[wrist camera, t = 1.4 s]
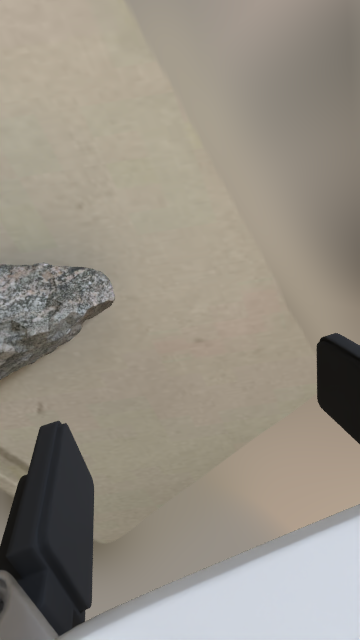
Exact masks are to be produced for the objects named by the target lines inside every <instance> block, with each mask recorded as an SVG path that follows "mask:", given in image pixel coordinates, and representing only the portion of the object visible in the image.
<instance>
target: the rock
mask: <svg viewBox="0 0 360 640" xmlns="http://www.w3.org/2000/svg"><path fill="white" fill-rule="evenodd" d="M114 300H115V295H114V292H113V287H112V284H111V282H110V280H109V279H108V278H107V277H106V275H104V274H103V273H101V272H100V271H96V270H94V269H89V268H84V267H67V266H65V267H59V266H52V265H49V264H45V263H38V264H34V265H22V266H13V265H3V264H0V380H1V379H2V378H4V377H6V376H7V375H9V374H10V373H12V372H15V371H17V370H18V369H19V368H21V367H23V366H25V365H27V364H32V363H34V362H35V361H36V360H37V359H38V358H40V357H42V356H43V355H46V354H49V353H51V352H52V351H54V350H55V349H56V348H57V347H58V346H60V345H62V344H64V343H66V342H68V341H69V340H71V339H72V338H73V337H74V336H75V335H77V334H78V333H79V332H80V330H81V328H82V324H83V322H84V321H85V320H87V319H90V318H93V317H94V316H96V315H98V314H99V313H101V312H102V311H103V310H105V309H107V308H108V307H110V306H111V305H112V303H113V301H114Z"/></svg>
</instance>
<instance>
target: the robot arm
mask: <svg viewBox="0 0 360 640" xmlns="http://www.w3.org/2000/svg"><path fill="white" fill-rule="evenodd" d="M317 399H318V403H319V405H320V407H321V408H322V409H323V410H324V411H325V412H326V413H327V414H328V415H329V416H331V418H333V419H334V420H335V421H336V422H337V423H338V424H339V425H340V426H341V427H342V428H343V429H344V430H345V431H346V432H347V433H348V434H350V435H351V436H352V437H353V438H354V439H355V440H356V441H357V442H358V443H359V444H360V345H358V344H356V343H354V342H353V341H351V340H349V339H347V338H345V337H344V336H342V335H340V334H338V333H334V334H331V335H328V336H325V337H322V338H321V339H320V342H319V343H318V344H317ZM93 516H94V484H93V480H92V477H91V475H90V472H89V470H88V468H87V466H86V464H85V462H84V459H83V457H82V455H81V453H80V451H79V448H78V446H77V444H76V442H75V440H74V438H73V435H72V433H71V431H70V429H69V427H68V425H67V424H66V423H65V424H61V422H60V421H56V422H53V423H50V424H47V425H44V426H41V427H40V429H39V433H38V436H37V440H36V444H35V448H34V452H33V455H32V459H31V463H30V467H29V471H28V474H27V475H24V476H22V477H21V479H20V481H19V483H18V486H17V490H16V493H15V497H14V501H13V504H12V507H11V511H10V514H9V518H8V522H7V525H6V528H5V532H4V535H3V539H2V542H1V546H0V640H360V504H359V505H356V506H354V507H351V508H349V509H346V510H344V511H341V512H339V513H336V514H334V515H332V516H329V517H327V518H324V519H322V520H319V521H317V522H315V523H312V524H310V525H307V526H305V527H303V528H300V529H298V530H295V531H293V532H290V533H288V534H286V535H283V536H281V537H278V538H276V539H273V540H271V541H269V542H266V543H264V544H261V545H259V546H257V547H254V548H252V549H249V550H247V551H245V552H242V553H240V554H238V555H235V556H233V557H230V558H228V559H226V560H223V561H221V562H219V563H216V564H214V565H211V566H209V567H207V568H204V569H202V570H199V571H197V572H195V573H193V574H190V575H187V576H185V577H183V578H180V579H178V580H176V581H173V582H171V583H168V584H166V585H164V586H162V587H159V588H157V589H155V590H152V591H150V592H148V593H146V594H143V595H141V596H139V597H137V598H135V599H132V600H130V601H128V602H126V603H123V604H121V605H119V606H116V607H114V608H112V609H110V610H107V611H105V612H103V613H102V614H99V615H97V616H95V617H94V618H91V619H89V620H87V621H85V610H86V609H88V608H90V607H91V603H92V565H93Z"/></svg>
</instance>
